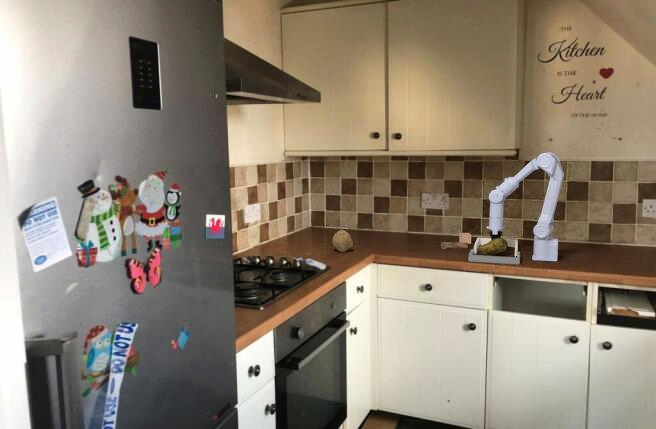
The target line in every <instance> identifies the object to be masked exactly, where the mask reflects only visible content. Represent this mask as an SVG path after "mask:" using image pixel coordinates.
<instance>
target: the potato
mask: <svg viewBox="0 0 656 429" xmlns="http://www.w3.org/2000/svg"><path fill="white" fill-rule="evenodd" d="M505 239H506V238H504V237H500V238H495V239H493V240H491V241H489V242H488V243H487V244H484V245H479V248H478V249H477V253H476V254H477V255H482V256H496V255H497V254H500V253H502V252H506V251H507V249H508V247H507V246H508V243H507V241H506V240H505Z"/></svg>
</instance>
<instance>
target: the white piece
mask: <svg viewBox="0 0 656 429" xmlns="http://www.w3.org/2000/svg"><path fill="white" fill-rule="evenodd" d="M504 239H505V240H506V241H507V243H508V247H507V248H509V247H510V248H514V257H516V256H517V252H518V250H519V249H518V245H519V244H518V242H519V240H518V239H517V238H515V239H514V238H504ZM489 241H491V237H477V238H476V240H475V243H474V246H473V249H474V255H477V254H478V253H477V249H478V248H479V247H480V246H482V245H484V244H487V243H488V242H489Z"/></svg>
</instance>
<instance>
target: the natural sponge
mask: <svg viewBox="0 0 656 429" xmlns="http://www.w3.org/2000/svg"><path fill="white" fill-rule="evenodd" d="M331 242H332V245H333V247H335V249H336V250H337V251H339V252H341V253H346V251H348V250H349V249H351V248H353V245H354V241H353V239H352V237H351V234H350V233H349V232H347V231H346V230H343V229H340V230H337V232H335V233H334V235H333V237H332V241H331Z"/></svg>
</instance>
